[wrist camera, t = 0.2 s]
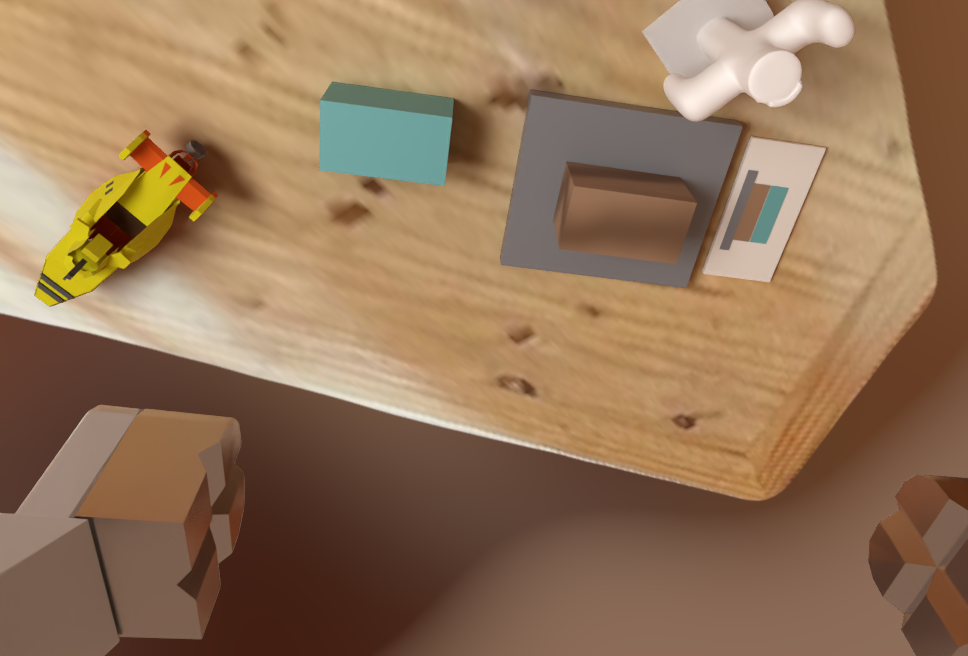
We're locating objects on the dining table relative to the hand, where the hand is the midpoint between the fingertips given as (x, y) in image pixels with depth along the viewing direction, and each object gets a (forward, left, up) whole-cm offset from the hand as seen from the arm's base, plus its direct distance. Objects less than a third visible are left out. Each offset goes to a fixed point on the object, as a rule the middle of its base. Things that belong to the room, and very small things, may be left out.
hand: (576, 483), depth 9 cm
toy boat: (+21, -26, -48) cm, 58 cm away
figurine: (+1, +15, -48) cm, 50 cm away
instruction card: (+14, +25, -47) cm, 55 cm away
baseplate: (+14, +12, -47) cm, 51 cm away
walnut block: (+14, +12, -46) cm, 49 cm away
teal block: (+11, -6, -48) cm, 49 cm away
